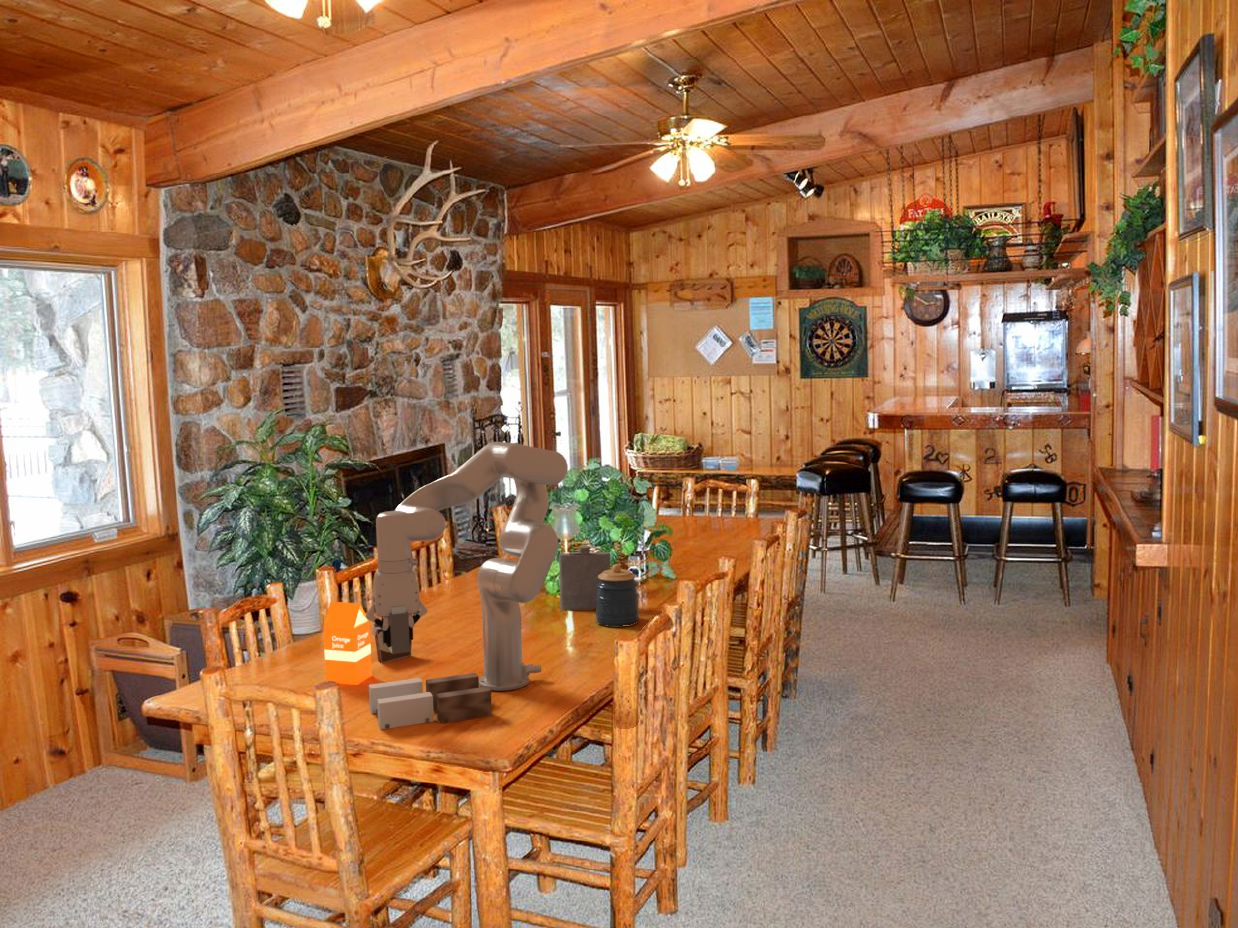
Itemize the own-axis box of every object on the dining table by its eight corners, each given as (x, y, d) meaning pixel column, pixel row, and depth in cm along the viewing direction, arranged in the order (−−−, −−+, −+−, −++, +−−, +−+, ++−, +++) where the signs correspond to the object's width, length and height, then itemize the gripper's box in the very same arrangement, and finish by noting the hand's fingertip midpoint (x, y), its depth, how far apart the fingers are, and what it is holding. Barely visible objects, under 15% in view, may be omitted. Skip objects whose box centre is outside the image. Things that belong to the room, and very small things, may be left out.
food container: (403, 650, 304) (401, 614, 303) (415, 654, 300) (414, 618, 299) (364, 660, 296) (362, 623, 294) (376, 664, 291) (374, 628, 290)
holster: (475, 696, 265) (475, 672, 264) (491, 715, 252) (490, 690, 251) (426, 704, 260) (425, 679, 260) (440, 723, 248) (439, 697, 247)
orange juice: (341, 672, 285) (338, 597, 282) (372, 675, 283) (368, 599, 280) (325, 682, 278) (321, 605, 275) (356, 685, 275) (353, 607, 273)
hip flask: (610, 605, 348) (609, 543, 346) (611, 609, 344) (610, 546, 342) (560, 607, 347) (558, 545, 344) (560, 611, 343) (559, 548, 340)
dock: (420, 702, 262) (419, 677, 261) (433, 721, 249) (432, 695, 248) (369, 709, 257) (368, 684, 257) (380, 729, 245) (379, 703, 244)
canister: (631, 629, 321) (630, 570, 319) (589, 626, 325) (588, 567, 323) (644, 618, 333) (643, 561, 331) (604, 615, 337) (603, 558, 335)
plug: (404, 644, 255) (402, 600, 253) (409, 651, 249) (408, 606, 248) (387, 646, 253) (385, 602, 252) (392, 653, 248) (390, 608, 246)
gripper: (427, 559, 255) (430, 635, 258) (354, 566, 249) (358, 644, 251) (435, 565, 248) (438, 644, 251) (360, 573, 242) (363, 653, 245)
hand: (398, 643), depth 251 cm, fingers closed on plug, 4 cm apart
